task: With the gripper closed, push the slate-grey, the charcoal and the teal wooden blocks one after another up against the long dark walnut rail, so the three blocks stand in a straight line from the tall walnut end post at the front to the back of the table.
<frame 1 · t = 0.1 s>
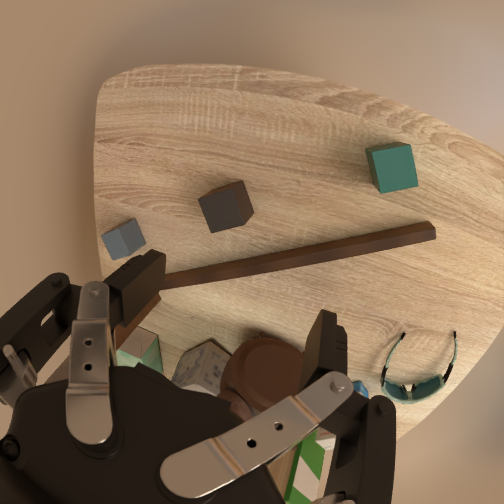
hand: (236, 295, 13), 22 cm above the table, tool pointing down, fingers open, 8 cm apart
rail: (258, 261, 38), on the table
hardback book: (304, 410, 52), on the table
ink box: (344, 391, 46), on the table
alarm clock: (279, 347, 45), on the table
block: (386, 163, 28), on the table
middle block: (232, 201, 35), on the table
incense holder: (212, 357, 50), on the table
box: (147, 348, 56), on the table
end post: (147, 293, 47), on the table
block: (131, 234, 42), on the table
sunglasses: (418, 359, 39), on the table
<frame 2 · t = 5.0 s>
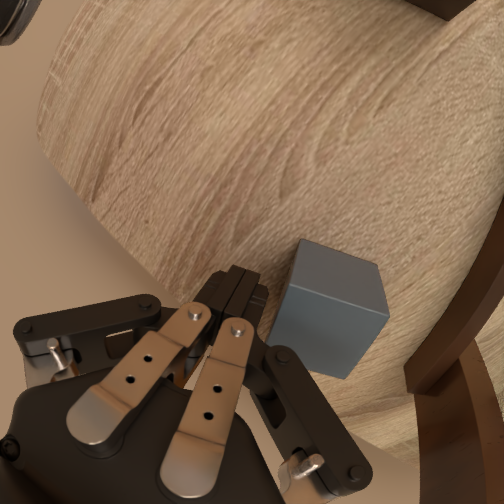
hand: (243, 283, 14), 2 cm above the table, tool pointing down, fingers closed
end post: (443, 360, 15), on the table
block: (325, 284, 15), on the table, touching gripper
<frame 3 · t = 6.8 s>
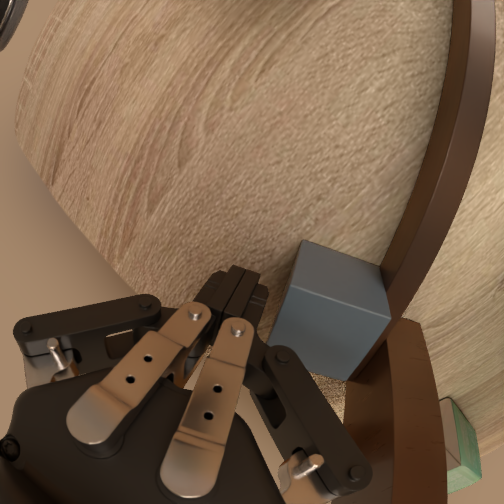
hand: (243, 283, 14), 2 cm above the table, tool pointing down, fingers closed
box: (437, 429, 19), on the table
end post: (382, 344, 16), on the table
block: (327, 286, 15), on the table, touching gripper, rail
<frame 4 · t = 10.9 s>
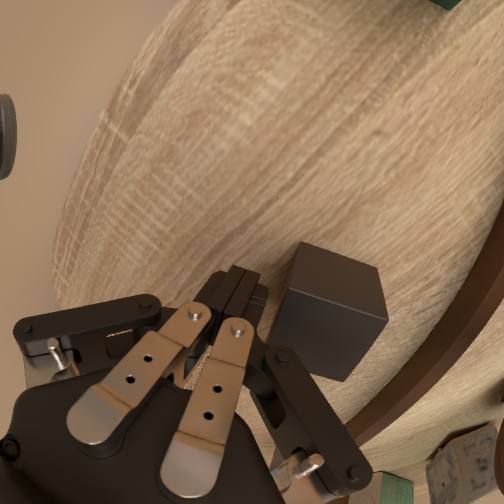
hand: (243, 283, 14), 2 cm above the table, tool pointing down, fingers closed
rail: (448, 321, 14), on the table
middle block: (325, 287, 15), on the table, touching gripper
incense holder: (462, 440, 19), on the table
box: (381, 481, 27), on the table
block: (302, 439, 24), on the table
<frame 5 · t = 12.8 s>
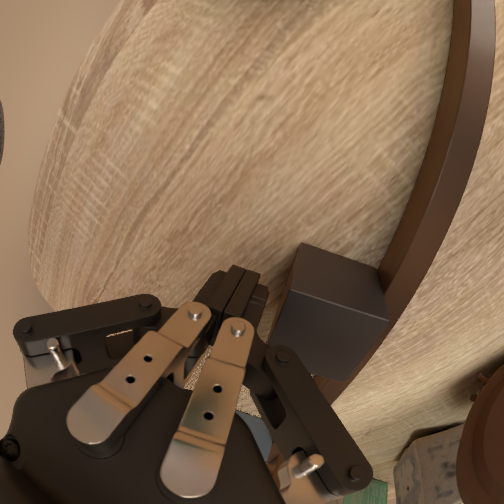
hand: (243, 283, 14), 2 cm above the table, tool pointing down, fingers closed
rail: (376, 296, 14), on the table
middle block: (325, 288, 15), on the table, touching rail
incense holder: (433, 441, 20), on the table
box: (351, 480, 28), on the table
end post: (289, 446, 25), on the table
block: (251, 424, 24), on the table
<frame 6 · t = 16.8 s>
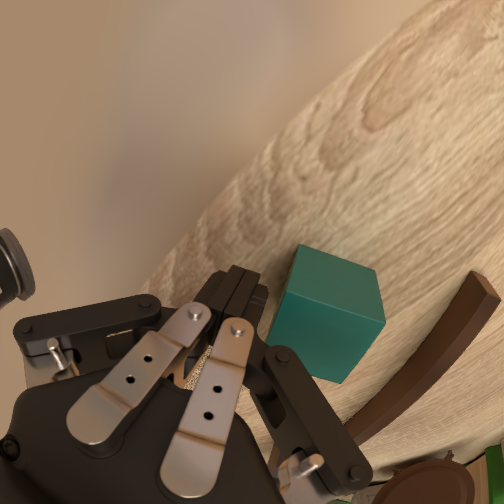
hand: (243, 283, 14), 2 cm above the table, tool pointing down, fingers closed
rail: (325, 445, 24), on the table
hardback book: (500, 451, 20), on the table
alarm clock: (424, 459, 23), on the table
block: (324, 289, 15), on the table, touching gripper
middle block: (298, 442, 24), on the table
incense holder: (378, 486, 29), on the table
box: (326, 500, 38), on the table
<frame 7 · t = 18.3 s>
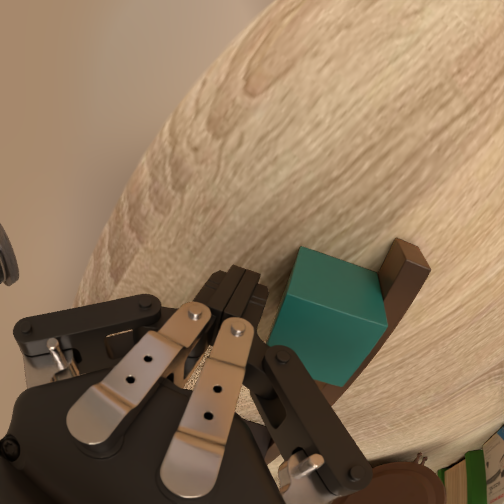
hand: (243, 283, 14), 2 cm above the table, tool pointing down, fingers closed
rail: (276, 436, 24), on the table
hardback book: (484, 456, 20), on the table
alarm clock: (393, 460, 23), on the table
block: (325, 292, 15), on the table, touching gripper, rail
middle block: (248, 429, 25), on the table
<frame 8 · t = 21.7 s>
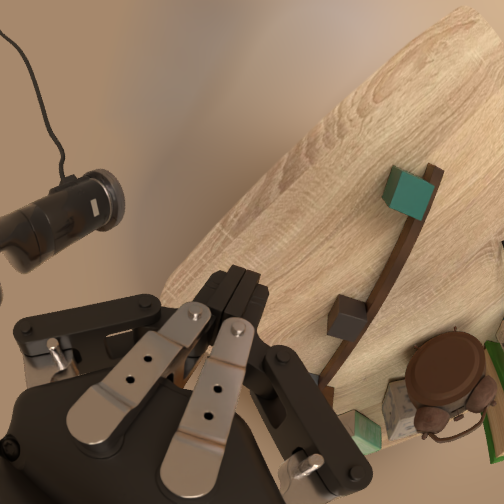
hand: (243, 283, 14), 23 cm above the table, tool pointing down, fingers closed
rail: (365, 312, 39), on the table
hardback book: (499, 356, 36), on the table
alarm clock: (437, 342, 38), on the table
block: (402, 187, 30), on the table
middle block: (346, 309, 40), on the table
incense holder: (403, 388, 45), on the table
box: (357, 422, 53), on the table
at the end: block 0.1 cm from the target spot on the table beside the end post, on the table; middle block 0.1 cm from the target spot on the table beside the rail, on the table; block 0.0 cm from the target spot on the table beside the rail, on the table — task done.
